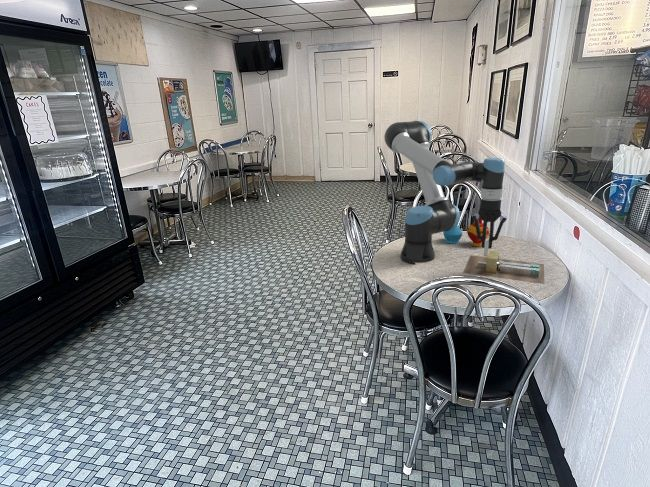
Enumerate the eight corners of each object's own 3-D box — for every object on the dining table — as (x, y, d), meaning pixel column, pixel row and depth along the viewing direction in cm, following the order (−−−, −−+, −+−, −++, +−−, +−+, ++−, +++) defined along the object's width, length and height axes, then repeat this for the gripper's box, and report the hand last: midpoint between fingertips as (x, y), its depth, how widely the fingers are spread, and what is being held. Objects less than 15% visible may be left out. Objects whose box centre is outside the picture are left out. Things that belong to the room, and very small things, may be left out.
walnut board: (462, 275, 159) (463, 272, 159) (470, 257, 177) (470, 255, 176) (544, 286, 146) (544, 283, 146) (543, 266, 164) (543, 264, 163)
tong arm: (491, 269, 160) (492, 263, 159) (491, 265, 164) (492, 259, 163) (538, 274, 153) (539, 267, 152) (537, 270, 157) (538, 264, 156)
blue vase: (462, 244, 194) (465, 215, 189) (443, 243, 196) (445, 214, 191) (460, 238, 202) (462, 210, 197) (442, 238, 204) (443, 210, 199)
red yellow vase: (461, 242, 196) (463, 213, 191) (479, 240, 199) (481, 211, 194) (475, 249, 187) (477, 218, 182) (493, 246, 189) (496, 216, 185)
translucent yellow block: (485, 271, 158) (486, 257, 156) (487, 263, 166) (489, 250, 164) (496, 272, 157) (497, 259, 155) (498, 264, 164) (499, 251, 162)
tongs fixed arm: (476, 268, 162) (477, 262, 161) (477, 265, 165) (478, 259, 164) (538, 276, 152) (539, 270, 151) (538, 273, 155) (539, 267, 154)
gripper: (471, 199, 153) (467, 256, 160) (508, 201, 147) (502, 260, 155) (474, 196, 159) (470, 250, 167) (509, 197, 153) (504, 254, 161)
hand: (485, 255), depth 161 cm, fingers closed
